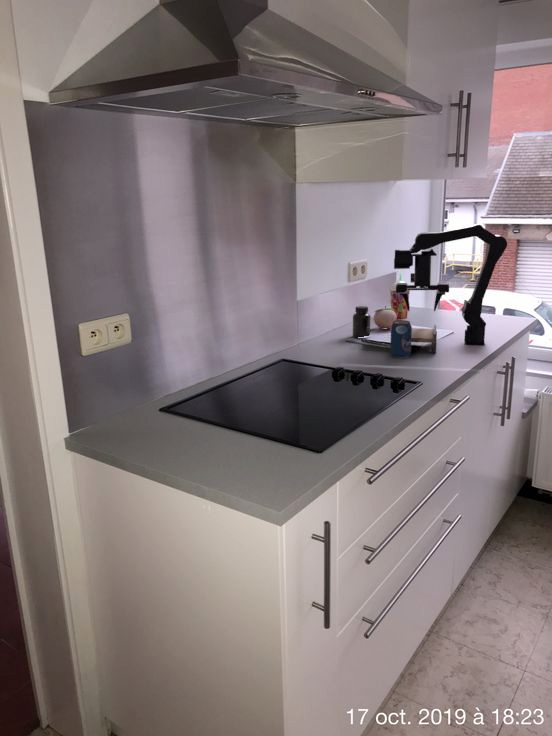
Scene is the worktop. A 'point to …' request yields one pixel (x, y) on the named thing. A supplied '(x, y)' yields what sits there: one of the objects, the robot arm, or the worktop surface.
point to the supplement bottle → (361, 322)
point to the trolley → (425, 336)
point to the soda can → (401, 339)
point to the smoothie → (398, 301)
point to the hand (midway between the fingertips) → (421, 311)
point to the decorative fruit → (384, 317)
